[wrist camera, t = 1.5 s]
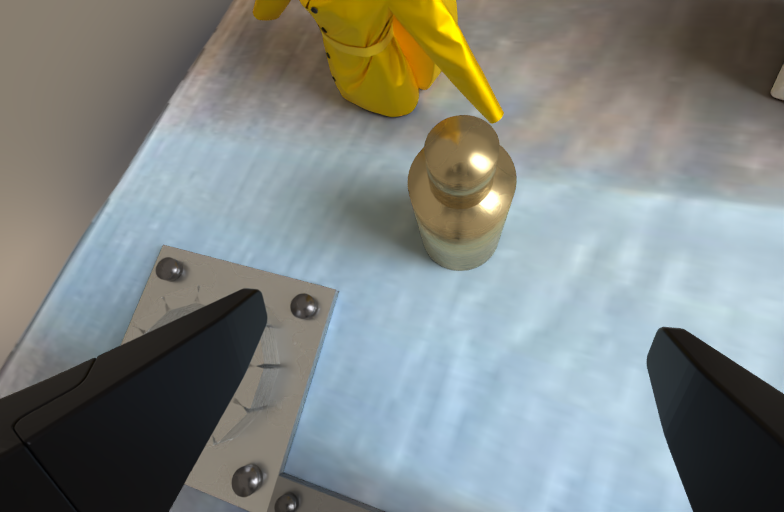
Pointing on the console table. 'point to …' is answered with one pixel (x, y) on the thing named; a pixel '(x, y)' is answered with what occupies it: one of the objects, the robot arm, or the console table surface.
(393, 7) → the yellow tall sculpted piece
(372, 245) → the console table surface
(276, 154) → the console table surface
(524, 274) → the console table surface
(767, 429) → the robot arm
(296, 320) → the flange large
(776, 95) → the medicine bottle
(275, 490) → the flange small
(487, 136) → the gold metal cylinder
